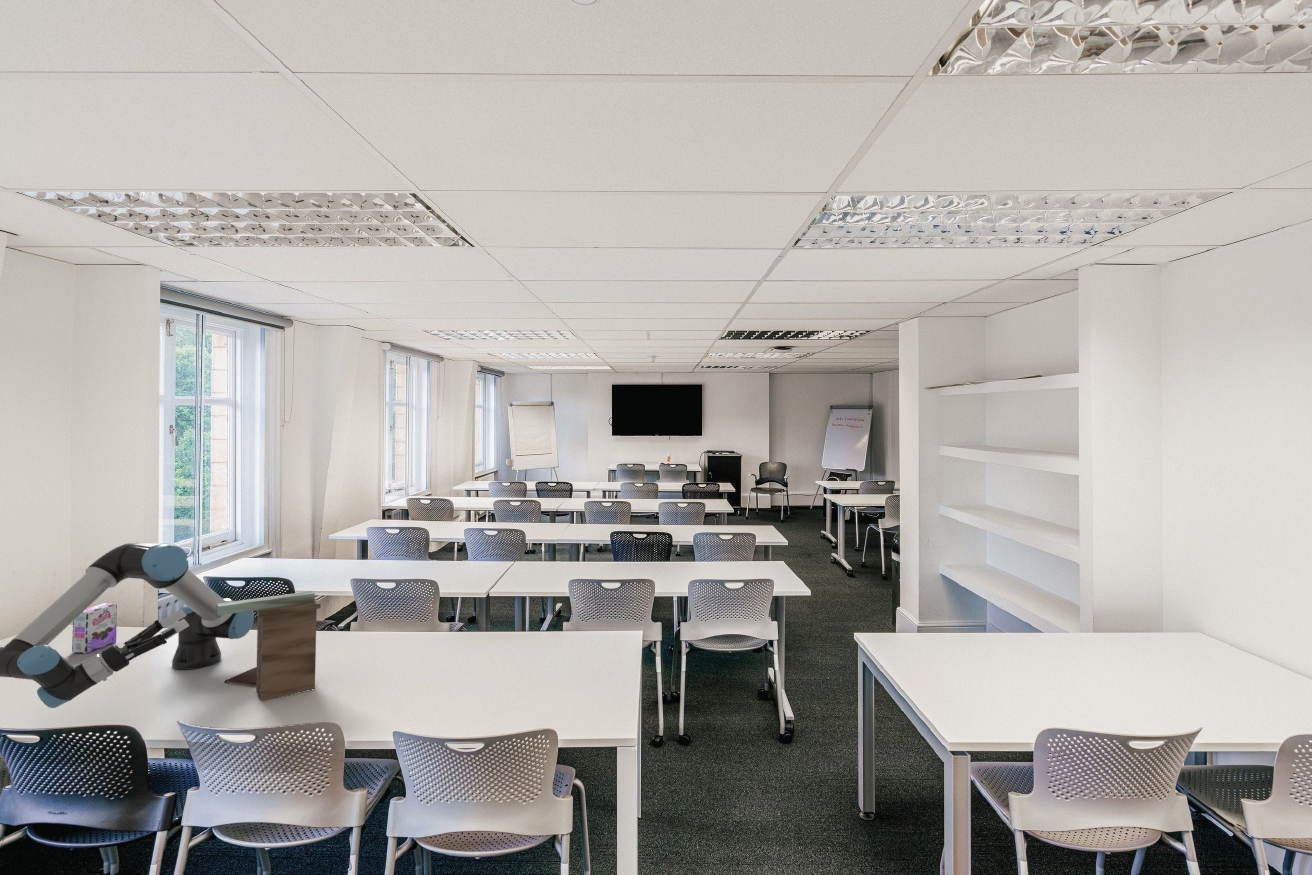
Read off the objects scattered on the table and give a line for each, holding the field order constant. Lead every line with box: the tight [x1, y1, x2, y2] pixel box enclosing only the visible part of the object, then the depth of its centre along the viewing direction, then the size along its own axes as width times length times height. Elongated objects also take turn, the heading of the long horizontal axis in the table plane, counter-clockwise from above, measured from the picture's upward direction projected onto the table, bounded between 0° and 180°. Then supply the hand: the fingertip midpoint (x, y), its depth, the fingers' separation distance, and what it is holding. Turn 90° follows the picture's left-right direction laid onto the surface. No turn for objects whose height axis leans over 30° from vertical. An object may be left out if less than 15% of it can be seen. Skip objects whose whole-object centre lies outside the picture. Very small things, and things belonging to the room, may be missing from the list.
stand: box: [255, 598, 322, 702], centre depth 214 cm, size 12×18×30 cm, turn 131°
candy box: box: [71, 602, 118, 654], centre depth 250 cm, size 14×6×16 cm, turn 179°
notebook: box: [223, 666, 257, 688], centre depth 227 cm, size 15×20×2 cm
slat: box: [216, 590, 316, 616], centre depth 210 cm, size 4×28×3 cm, turn 131°
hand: (185, 616), depth 197 cm, fingers open, 13 cm apart
